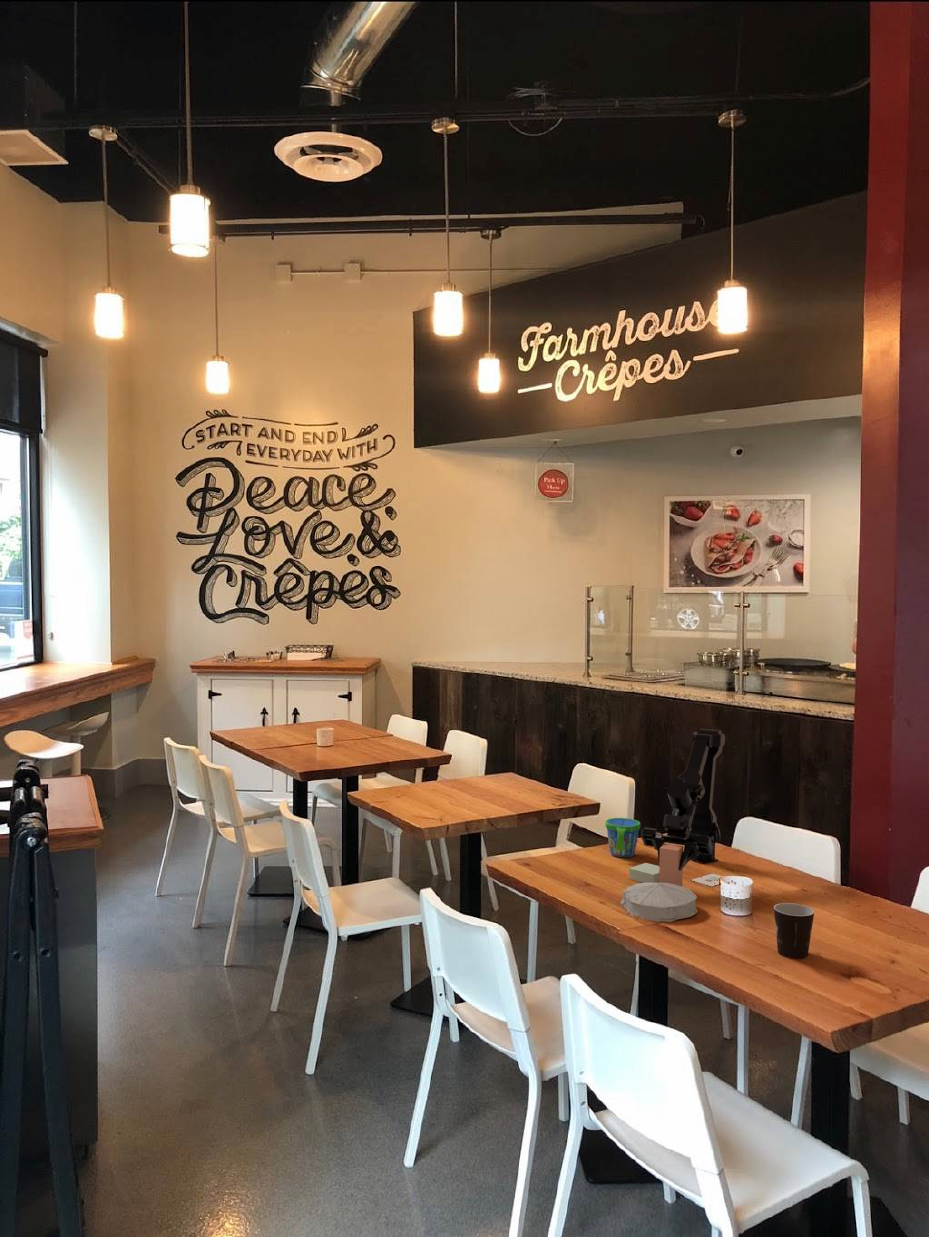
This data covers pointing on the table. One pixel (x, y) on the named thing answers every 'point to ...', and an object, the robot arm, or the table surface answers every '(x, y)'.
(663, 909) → the grey round stone disc
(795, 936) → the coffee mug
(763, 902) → the table surface
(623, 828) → the snack cup
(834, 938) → the table surface
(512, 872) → the table surface
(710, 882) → the page
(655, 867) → the base brick
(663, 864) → the tall brick
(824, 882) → the table surface
